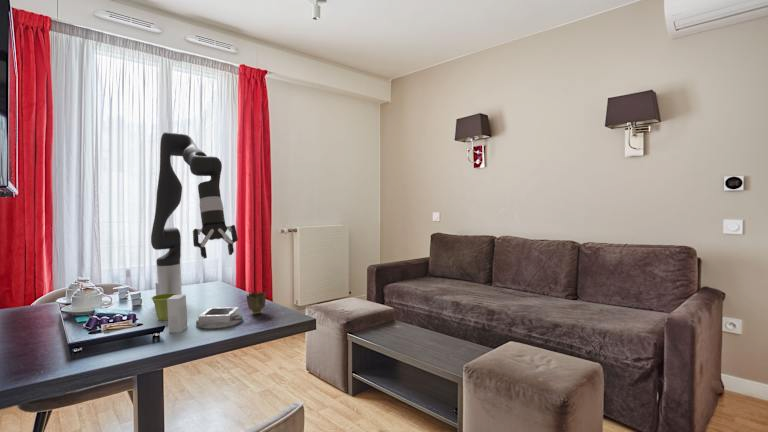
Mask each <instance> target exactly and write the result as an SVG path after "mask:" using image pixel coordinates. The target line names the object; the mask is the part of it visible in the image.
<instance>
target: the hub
mask: <svg viewBox="0 0 768 432" xmlns="http://www.w3.org/2000/svg"><path fill="white" fill-rule="evenodd" d="M243 320H244V319H243V315H241V314H240V307H239V306H233V307H232V306H231V307H229V306H227V307H209V308H208V309H207V310H205V311H204V312H202V313H201V314H200V315H199V316H198V320H196V321H195V327H196V329H198V330H205V331H216V330H223V329H229V328H232V327H236V326H238V325H240V324H241V323H242V322H243Z"/></svg>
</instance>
